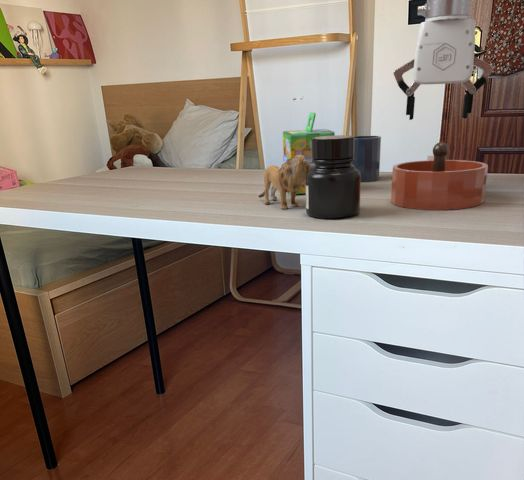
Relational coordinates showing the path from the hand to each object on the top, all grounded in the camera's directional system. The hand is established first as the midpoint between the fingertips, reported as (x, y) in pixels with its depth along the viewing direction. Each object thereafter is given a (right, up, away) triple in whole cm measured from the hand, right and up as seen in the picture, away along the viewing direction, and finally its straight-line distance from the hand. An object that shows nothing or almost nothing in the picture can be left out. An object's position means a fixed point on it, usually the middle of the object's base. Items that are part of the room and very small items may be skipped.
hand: (437, 118), depth 100 cm
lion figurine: (-29, -17, -2) cm, 34 cm away
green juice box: (-23, -11, +11) cm, 28 cm away
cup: (-10, -5, +20) cm, 23 cm away
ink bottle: (-21, -21, -11) cm, 32 cm away
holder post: (-2, -17, -6) cm, 18 cm away
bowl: (-1, -16, -3) cm, 16 cm away
